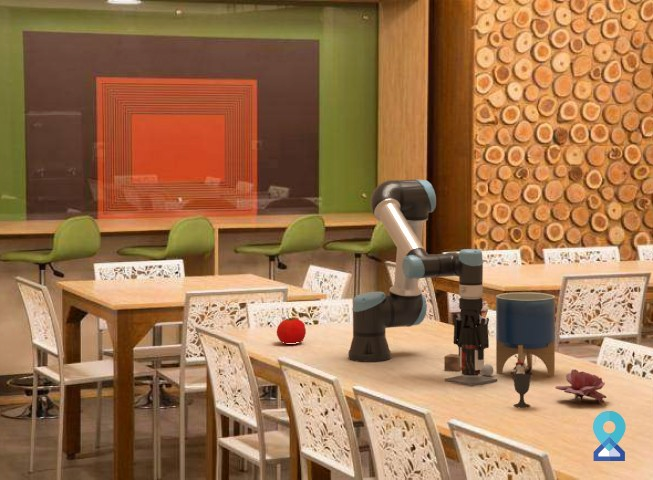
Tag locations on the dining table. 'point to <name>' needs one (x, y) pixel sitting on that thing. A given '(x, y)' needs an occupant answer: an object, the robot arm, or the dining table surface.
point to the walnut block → (452, 363)
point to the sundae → (521, 381)
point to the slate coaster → (471, 380)
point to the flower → (583, 385)
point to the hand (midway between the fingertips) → (471, 368)
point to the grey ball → (487, 370)
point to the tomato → (291, 331)
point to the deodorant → (468, 352)
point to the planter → (525, 328)
